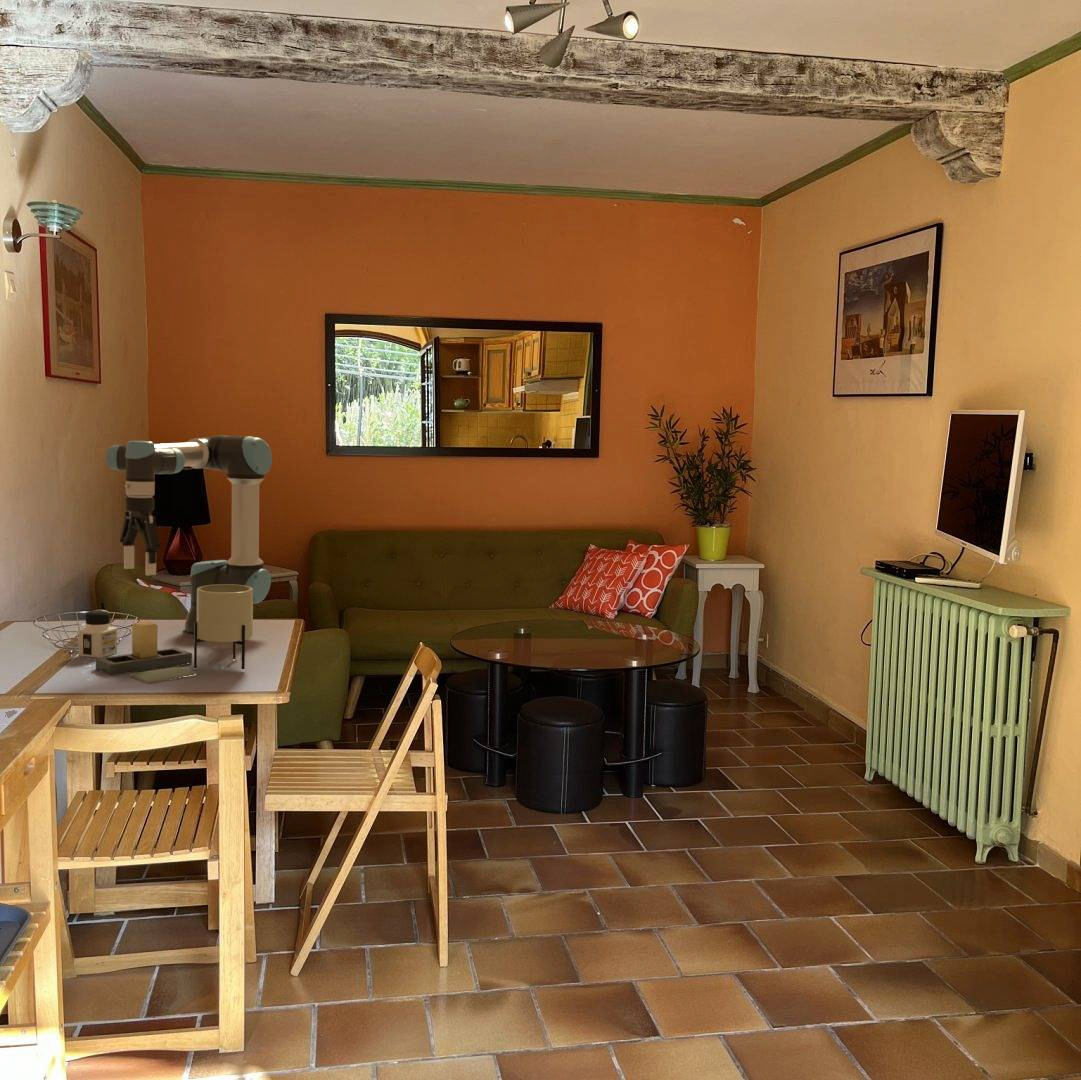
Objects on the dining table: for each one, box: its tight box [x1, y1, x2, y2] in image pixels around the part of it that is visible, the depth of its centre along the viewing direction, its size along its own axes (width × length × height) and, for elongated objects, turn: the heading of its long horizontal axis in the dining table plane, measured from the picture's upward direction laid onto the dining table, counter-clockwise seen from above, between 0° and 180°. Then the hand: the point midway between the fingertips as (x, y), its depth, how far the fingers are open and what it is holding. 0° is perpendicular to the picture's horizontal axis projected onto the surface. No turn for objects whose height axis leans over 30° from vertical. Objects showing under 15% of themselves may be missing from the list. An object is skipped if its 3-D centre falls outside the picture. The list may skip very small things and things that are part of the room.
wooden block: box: [131, 621, 159, 659], centre depth 298 cm, size 5×5×12 cm
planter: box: [193, 584, 254, 670], centre depth 301 cm, size 15×16×23 cm
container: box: [78, 609, 118, 659], centre depth 310 cm, size 8×8×13 cm
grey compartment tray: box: [95, 647, 193, 677], centre depth 299 cm, size 24×9×3 cm, turn 137°
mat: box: [130, 666, 197, 684], centre depth 289 cm, size 14×10×1 cm
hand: (139, 571), depth 296 cm, fingers open, 13 cm apart
